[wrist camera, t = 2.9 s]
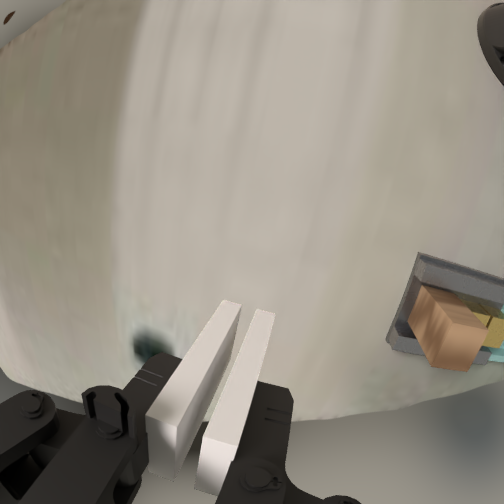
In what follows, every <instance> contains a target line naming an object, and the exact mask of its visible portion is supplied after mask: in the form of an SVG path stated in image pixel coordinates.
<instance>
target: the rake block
mask: <svg viewBox="0 0 504 504" xmlns="http://www.w3.org/2000/svg"><path fill="white" fill-rule="evenodd" d="M408 323H409V325H410V327H411V329H412V331H413V332H414V334H415V336H416V338H417V340H418V342H419V344H420V346H421V348H422V349H423V351H424V353H425V355H426V357H427V359H428V361H429V363H430V365H431V367H437V368H443V369H450V370H458V371H466V372H467V371H468V370H469V368H470V366H471V364H472V363H473V361H474V359H475V357H476V355H477V353H478V351H479V350H480V348H481V346H482V344H483V342H484V340H485V338H486V336H487V334H488V331H489V330H488V329H487V328H486V327H485V325H484V324H483V323H482V322H481V321H480V320H479V319H478V318H477V317H476V316H475V315H474V314H473V313H472V312H471V310H470V309H469V308H468V307H467V306H466V305H465V304H464V303H463V302H462V301H461V300H460V299H459V298H458V297H457V296H456V295H455V294H454V293H451V292H447V291H444V290H440V289H436V288H432V287H429V286H425V285H422V286H421V288H420V291H419V294H418V296H417V299H416V301H415V304H414V306H413V309H412V311H411V314H410V316H409V319H408Z"/></svg>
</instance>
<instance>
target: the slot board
mask: <svg viewBox="0 0 504 504" xmlns="http://www.w3.org/2000/svg"><path fill="white" fill-rule="evenodd" d="M422 285H425V286H429V287H432V288H436V289H440V290H444V291H447V292H451V293H454V294H455V295H456V296H457V297H458V298H459V299H463V300H466V301H470V302H474V303H477V304H478V305H480V304H482V305H486V306H489V307H493V308H497V309H499V310H501V309H502V306H503V304H504V279H503V278H500V277H497V276H494V275H491V274H488V273H484V272H481V271H478V270H475V269H472V268H469V267H466V266H463V265H459V264H456V263H453V262H450V261H446V260H443V259H440V258H437V257H433V256H430V255H427V254H423V253H420V252H418V255H417V258H416V261H415V264H414V267H413V270H412V273H411V276H410V278H409V281H408V284H407V287H406V289H405V292H404V295H403V297H402V300H401V303H400V305H399V308H398V310H397V313H396V315H395V318H394V320H393V322H392V325H391V327H390V330H389V332H388V334H387V337H386V341H387V343H390V345H391V347H392V350H396V351H402V352H407V353H413V354H418V355H424V356H426V355H425V353H424V351H423V349H422V348H421V346H420V344H419V342H418V340H417V338H416V336H415V334H414V332H413V331H412V329H411V327H410V325H409V323H408V319H409V316H410V314H411V311H412V309H413V306H414V304H415V301H416V299H417V296H418V294H419V291H420V288H421V286H422ZM491 354H492V352H491V351H490V350H489V348H488V347H487V346H481V348H480V350H479V351H478V353H477V355H476V357H475V359H474V361H473V363H475V364H483V365H486V363H487V361H488V360H489V358H490V356H491Z"/></svg>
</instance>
